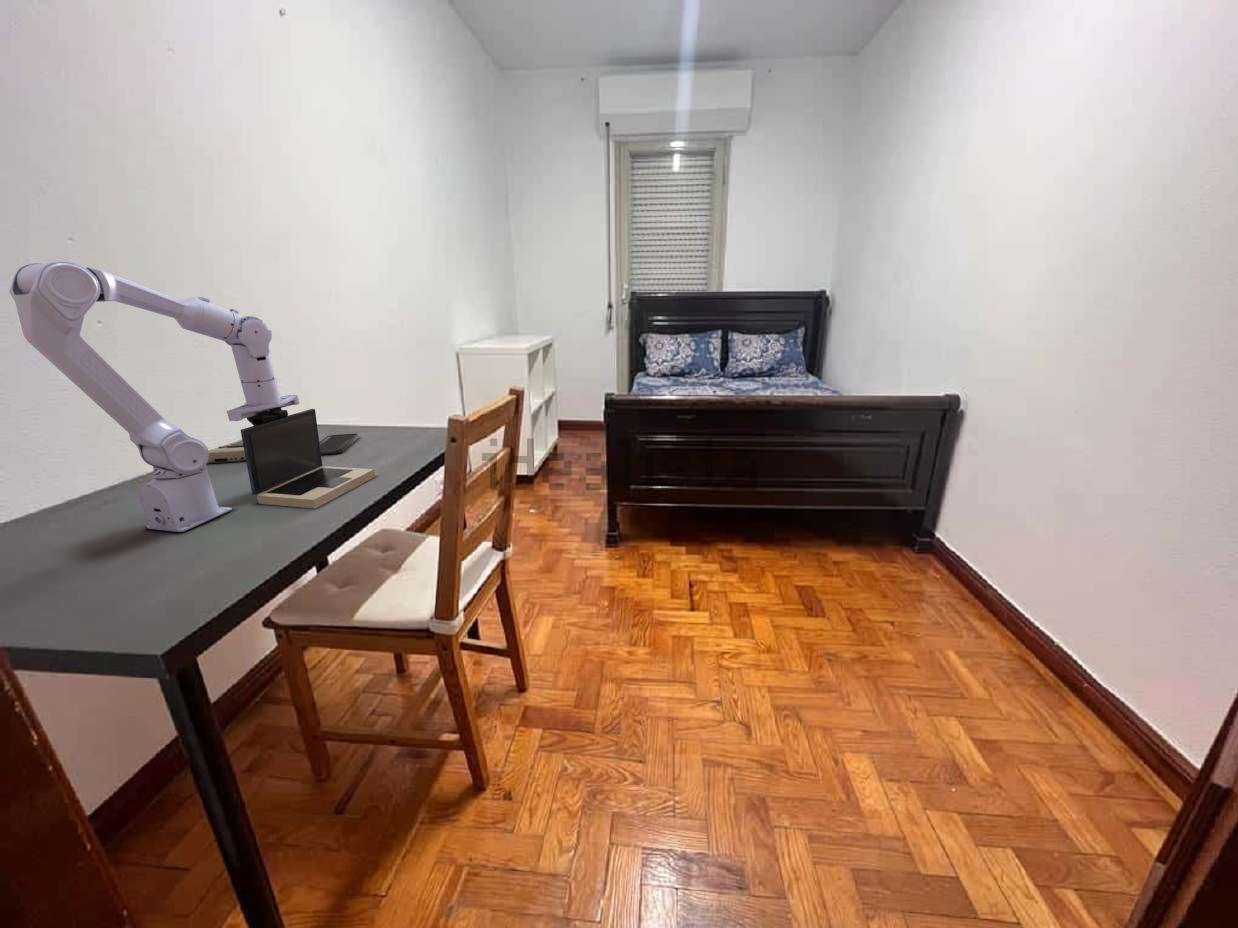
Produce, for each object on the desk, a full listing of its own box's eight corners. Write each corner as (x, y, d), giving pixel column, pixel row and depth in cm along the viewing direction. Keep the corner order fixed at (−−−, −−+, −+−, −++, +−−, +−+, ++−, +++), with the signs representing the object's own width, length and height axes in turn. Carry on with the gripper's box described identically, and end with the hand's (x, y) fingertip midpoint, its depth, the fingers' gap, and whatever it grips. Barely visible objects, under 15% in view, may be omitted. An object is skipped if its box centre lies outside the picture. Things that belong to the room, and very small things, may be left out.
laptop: (375, 476, 112) (373, 468, 111) (315, 508, 96) (313, 499, 96) (324, 473, 115) (322, 465, 114) (258, 503, 99) (256, 494, 99)
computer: (292, 449, 133) (289, 437, 132) (278, 459, 125) (275, 446, 124) (226, 454, 131) (222, 441, 129) (207, 464, 123) (203, 451, 122)
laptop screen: (315, 409, 110) (311, 408, 110) (244, 430, 94) (240, 429, 94) (322, 465, 114) (319, 465, 114) (256, 495, 99) (252, 494, 99)
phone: (306, 451, 127) (328, 435, 141) (307, 456, 127) (329, 439, 141) (340, 449, 128) (359, 433, 142) (341, 453, 128) (360, 437, 142)
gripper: (272, 373, 108) (288, 436, 112) (206, 387, 94) (226, 457, 99) (301, 374, 106) (315, 437, 111) (237, 387, 93) (257, 459, 97)
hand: (275, 446), depth 105 cm, fingers closed, pressing on laptop screen
